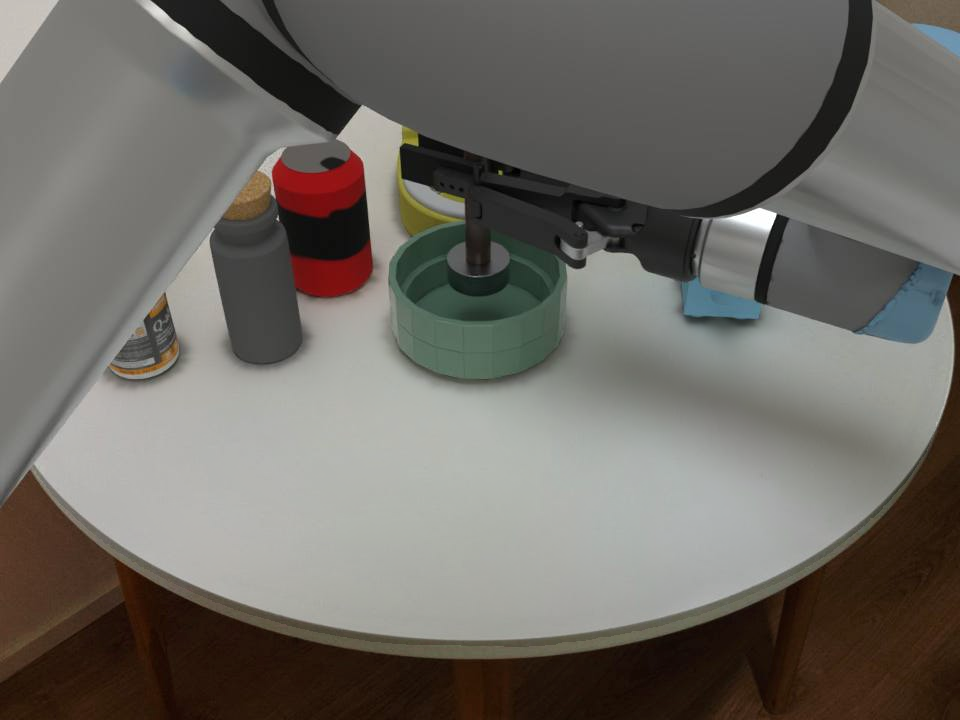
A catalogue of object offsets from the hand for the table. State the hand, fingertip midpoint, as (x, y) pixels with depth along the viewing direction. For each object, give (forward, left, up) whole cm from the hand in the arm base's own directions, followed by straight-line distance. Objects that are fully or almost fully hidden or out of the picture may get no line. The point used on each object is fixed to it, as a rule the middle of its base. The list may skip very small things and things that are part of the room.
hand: (412, 152), depth 80 cm
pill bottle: (-22, +8, -15) cm, 28 cm away
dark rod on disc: (+2, -5, -10) cm, 11 cm away
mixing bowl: (+2, -5, -15) cm, 16 cm away
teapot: (+20, -15, -15) cm, 30 cm away
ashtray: (+14, +11, -15) cm, 24 cm away
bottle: (-13, +4, -15) cm, 20 cm away
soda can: (-4, +9, -15) cm, 18 cm away
